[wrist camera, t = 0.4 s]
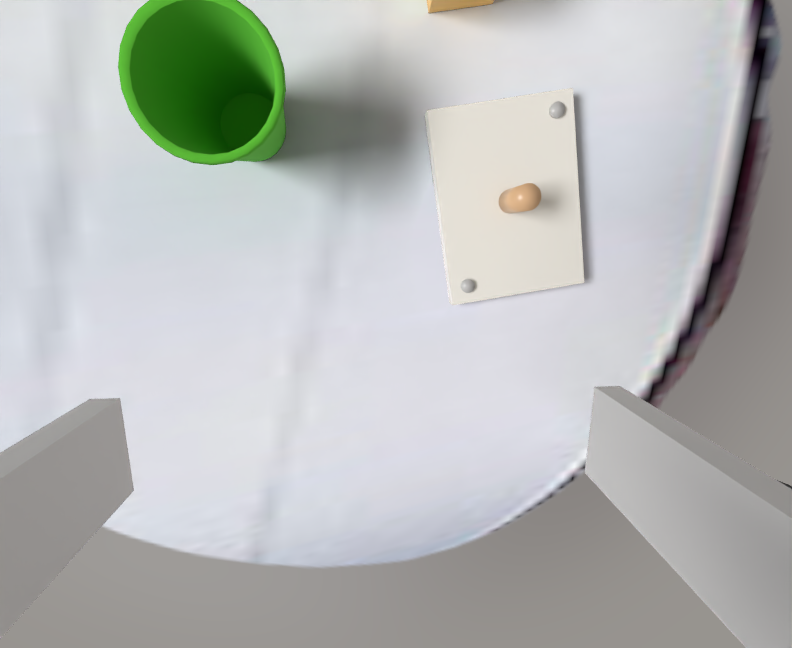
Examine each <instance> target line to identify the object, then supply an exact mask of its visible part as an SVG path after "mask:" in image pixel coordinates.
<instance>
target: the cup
mask: <svg viewBox="0 0 792 648" xmlns="http://www.w3.org/2000/svg"><path fill="white" fill-rule="evenodd" d="M118 69H119V75H120V82H121V89H122V92H123V95H124V97H125V100H126V102H127V105H128V108H129V110H130V112H131V114H132V115H133V117H134V118H135V120H136V121H137V123H138V124H139V126H140V128H141V129H142V130H143V131H144V132H145V133H146V134H147V135H148V136H149V137H150V138H151V139H152V140H153V141H154V142H155V143H156V144H157V145H158V146H160V147H161V148H163V149H165V150H166V151H168V152H169V153H171V154H172V155H174V156H176V157H179V158H182V159H184V160H187V161H190V162H192V163H199V164H208V165H217V164H224V163H232V162H234V161H253V162H257V161H264V160H266V159H268V158H271V157H272V156H273V155H275V154H276V153H277V152H278V151H279V149H280V148H281V147H282V144H283V142H284V140H285V134H286V124H285V116H284V108H283V105H284V98H285V92H286V87H285V73H284V67H283V63H282V60H281V57H280V53H279V50H278V47H277V45H276V44H275V42H274V40H273V38H272V36H271V34H270V33H269V31H268V29H267V28H266V27H265V25H264V24H263V23H262V22H261V21H260V20H259V18H258V17H257V16H256V15H255V14H254V13H253V12H252V11H251V10H250V9H248V8H247V7H246V6H244V5H243V4H241V3H240V2H239V1H237V0H149V1H148V2H147V3H145V4H144V5H143V6H142V7H141V8H139V9H138V10H137V12H136V13H135V15H134V16H133V18H132V19H131V21H130V22H129V24H128V25H127V27H126V30H125V33H124V36H123V39H122V41H121V44H120V52H119V64H118Z"/></svg>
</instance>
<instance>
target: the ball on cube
mask: <svg viewBox="0 0 792 648" xmlns="http://www.w3.org/2000/svg"><path fill="white" fill-rule="evenodd" d="M493 2H494V0H427V5H428V13H433V12H440V11H447V10H453V9H460V8H467V7H474V6H481V5H488V4H492V3H493Z"/></svg>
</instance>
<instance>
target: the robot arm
mask: <svg viewBox="0 0 792 648" xmlns="http://www.w3.org/2000/svg"><path fill="white" fill-rule="evenodd" d="M585 473H586V474H587V475H588V476H589V477H590V478H591V480H592V481H593V482H594V483H595V484H596V485H597V486H598V487H599V488H600V490H601V491H602V492H603V493H604V494H605V495H606V496H607V497H608V498H609V499H610V500H611V502H612V503H613V504H614V505H615V506H616V507H617V508H618V509H619V510H620V511H621V512H622V514H623V515H624V516H625V517H626V518H627V519H628V520H629V521H630V522H631V523H632V524H633V525H634V527H635V528H637V530H638V531H639V532H640V533H641V534H642V535H643V536H644V537H645V538H646V539H647V541H648V542H649V543H650V544H651V545H652V546H653V547H654V548H655V549H656V551H658V553H659V554H660V555H661V556H662V557H663V558H664V559H665V560H666V561H667V562H668V563H669V564H670V566H671V567H672V568H673V569H674V570H675V571H676V572H677V573H678V574H679V575H680V577H681V578H682V579H683V580H684V581H685V582H686V583H687V584H688V585H689V586H690V587H691V588H692V589H693V590H694V592H695V593H696V594H697V595H698V596H699V597H700V598H701V599H702V600H703V602H704V603H705V604H706V605H707V606H708V607H709V608H710V609H711V610H712V611H713V613H715V615H716V616H717V617H718V618H719V619H720V620H721V621H722V622H723V623H724V624H725V626H726V627H727V628H728V629H729V630H730V631H731V632H732V633H733V634H734V635H735V636H736V638H737V639H738V640H739V641H740V642H741V643H742V644H743V645H744V646H745V647H746V648H792V487H791V486H790V485H788V484H785V483H783V482H780V481H778V480H776V479H774V478H772V477H771V476H769V475H767V474H766V473H764V472H762V471H761V470H759V469H757V468H755V467H754V466H752V465H751V464H749V463H747V462H746V461H744V460H742V459H740V458H739V457H737V456H735V455H734V454H732V453H730V452H728V451H727V450H726V449H724V448H722V447H720V446H719V445H717V444H716V443H714V442H712V441H711V440H709V439H707V438H705V437H704V436H702V435H701V434H699V433H697V432H695V431H694V430H692V429H691V428H689V427H687V426H685V425H684V424H682V423H680V422H679V421H677V420H675V419H674V418H672V417H670V416H669V415H667V414H665V413H664V412H662V411H660V410H659V409H657V408H655V407H654V406H652V405H650V404H649V403H647V402H645V401H644V400H642V399H640V398H639V397H637V396H635V395H634V394H632V393H630V392H629V391H627V390H625V389H624V388H622V387H620V386H608V387H594V396H593V405H592V414H591V423H590V432H589V440H588V449H587V458H586V467H585ZM133 491H134V488H133V482H132V475H131V468H130V462H129V455H128V448H127V442H126V435H125V428H124V421H123V415H122V408H121V401H120V398H113V399H89V400H87V401H86V402H84V403H82V404H81V405H79V406H77V407H76V408H74V409H72V410H71V411H69V412H67V413H66V414H64V415H62V416H61V417H59V418H57V419H56V420H54V421H52V422H51V423H49V424H47V425H46V426H44V427H42V428H41V429H39V430H38V431H36V432H34V433H33V434H31V435H29V436H28V437H26V438H24V439H23V440H21V441H19V442H18V443H16V444H14V445H13V446H11V447H9V448H8V449H6V450H4V451H3V452H1V453H0V639H1V638H2V636H3V635H4V634H5V633H6V632H7V631H8V630H9V629H10V627H11V626H12V625H13V624H14V623H15V622H16V621H17V620H18V619H19V617H20V616H21V615H22V614H23V613H24V612H25V610H27V609H28V607H29V606H30V605H31V604H32V603H33V602H34V601H35V600H36V599H37V598H38V596H39V595H40V594H41V593H42V592H43V591H44V590H45V589H46V587H47V586H48V585H49V584H50V583H51V582H52V581H53V580H54V579H55V577H56V576H57V575H58V574H59V573H60V572H61V571H62V570H63V569H64V568H65V566H66V565H67V564H68V563H69V562H70V561H71V560H72V559H73V557H74V556H75V555H76V554H77V553H78V552H79V551H80V550H81V549H82V548H83V546H84V545H85V544H86V543H87V542H88V541H89V540H90V539H91V538H92V536H93V535H94V534H95V533H96V532H97V531H98V530H99V529H100V528H101V526H102V525H103V524H104V523H105V522H106V521H107V520H108V519H109V518H110V516H111V515H112V514H113V513H114V512H115V511H116V510H117V509H118V508H119V506H120V505H121V504H122V503H123V502H124V501H125V500H126V499H127V498H128V496H129V495H130V494H131V493H132V492H133Z"/></svg>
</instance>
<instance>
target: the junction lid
mask: <svg viewBox="0 0 792 648" xmlns="http://www.w3.org/2000/svg"><path fill="white" fill-rule="evenodd" d="M425 123H426V131H427V138H428V146H429V153H430V161H431V168H432V176H433V183H434V191H435V198H436V206H437V213H438V221H439V228H440V236H441V244H442V251H443V259H444V266H445V274H446V281H447V289H448V296H449V303H450V304H452V305H457V304H463V303H469V302H475V301H481V300H487V299H492V298H498V297H504V296H510V295H516V294H522V293H527V292H533V291H539V290H545V289H551V288H557V287H562V286H568V285H574V284H580V283H584V268H583V251H582V234H581V217H580V200H579V183H578V166H577V150H576V133H575V116H574V99H573V88H569V89H562V90H556V91H549V92H542V93H536V94H529V95H523V96H516V97H510V98H503V99H497V100H490V101H484V102H477V103H471V104H464V105H458V106H451V107H445V108H438V109H432V110H427V111H426V113H425Z"/></svg>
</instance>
